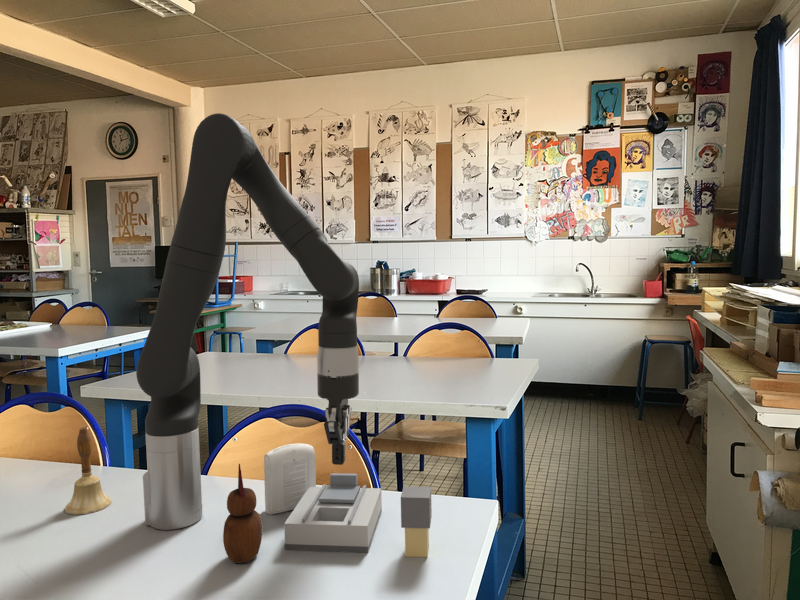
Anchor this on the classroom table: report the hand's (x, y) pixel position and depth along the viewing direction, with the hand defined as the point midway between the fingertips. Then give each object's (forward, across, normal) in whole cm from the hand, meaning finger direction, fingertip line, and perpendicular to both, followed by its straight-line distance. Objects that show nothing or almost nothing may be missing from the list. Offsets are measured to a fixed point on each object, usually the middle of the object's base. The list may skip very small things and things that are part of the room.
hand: (338, 463), depth 111 cm
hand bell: (+12, -3, -52) cm, 53 cm away
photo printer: (+11, -5, -10) cm, 16 cm away
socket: (+10, +4, 0) cm, 11 cm away
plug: (+10, +11, +16) cm, 22 cm away
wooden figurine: (+11, +15, -12) cm, 23 cm away
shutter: (+6, 0, 0) cm, 6 cm away
